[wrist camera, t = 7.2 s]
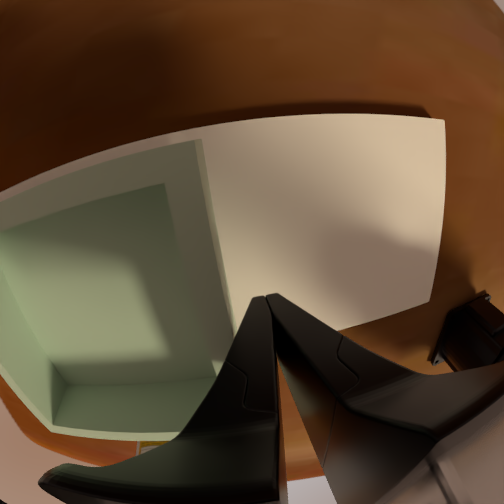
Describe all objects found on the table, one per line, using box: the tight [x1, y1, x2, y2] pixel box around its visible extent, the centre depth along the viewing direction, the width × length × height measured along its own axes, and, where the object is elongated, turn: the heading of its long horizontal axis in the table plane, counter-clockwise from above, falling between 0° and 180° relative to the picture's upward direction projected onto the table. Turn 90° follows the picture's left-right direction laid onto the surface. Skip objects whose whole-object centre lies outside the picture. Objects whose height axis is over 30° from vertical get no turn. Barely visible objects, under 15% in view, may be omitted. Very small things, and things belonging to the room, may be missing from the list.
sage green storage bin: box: [0, 139, 238, 441], centre depth 10 cm, size 11×11×6 cm
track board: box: [0, 114, 446, 331], centre depth 12 cm, size 12×28×4 cm, turn 98°
